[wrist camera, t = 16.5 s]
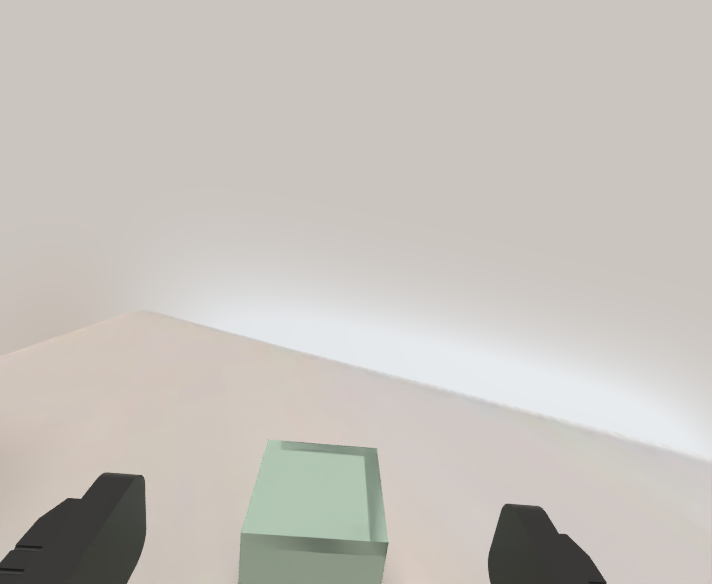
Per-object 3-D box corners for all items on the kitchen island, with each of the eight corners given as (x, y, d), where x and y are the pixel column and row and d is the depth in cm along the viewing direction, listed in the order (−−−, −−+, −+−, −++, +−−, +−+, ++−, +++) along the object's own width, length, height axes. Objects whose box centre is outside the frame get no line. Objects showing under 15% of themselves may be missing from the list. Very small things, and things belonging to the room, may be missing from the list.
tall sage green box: (232, 708, 20) (240, 532, 17) (258, 584, 26) (268, 439, 23) (358, 713, 20) (388, 542, 17) (355, 589, 26) (376, 448, 23)
